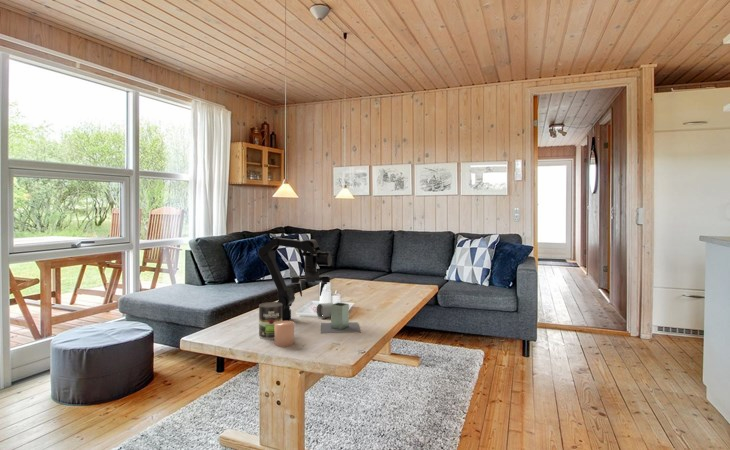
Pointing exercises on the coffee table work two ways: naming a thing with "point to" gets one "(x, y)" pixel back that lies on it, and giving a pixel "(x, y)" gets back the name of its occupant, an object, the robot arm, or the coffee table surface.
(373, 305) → the coffee table surface
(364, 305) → the coffee table surface
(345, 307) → the tin
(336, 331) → the mat
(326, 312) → the ceramic mug
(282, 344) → the pink rounded cylinder
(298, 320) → the coffee table surface
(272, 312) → the coffee can
